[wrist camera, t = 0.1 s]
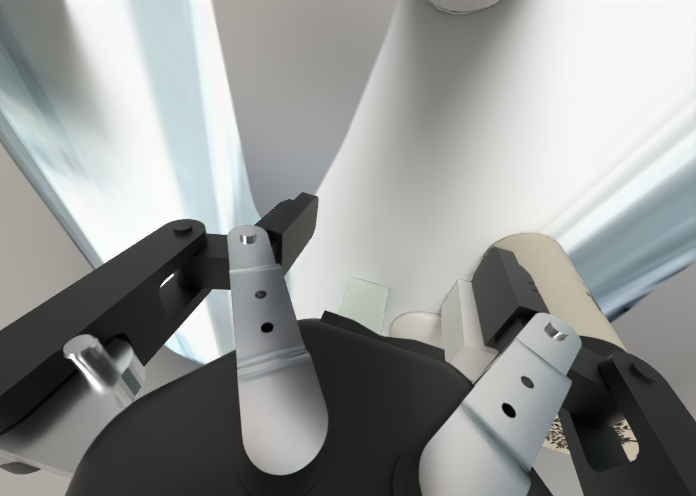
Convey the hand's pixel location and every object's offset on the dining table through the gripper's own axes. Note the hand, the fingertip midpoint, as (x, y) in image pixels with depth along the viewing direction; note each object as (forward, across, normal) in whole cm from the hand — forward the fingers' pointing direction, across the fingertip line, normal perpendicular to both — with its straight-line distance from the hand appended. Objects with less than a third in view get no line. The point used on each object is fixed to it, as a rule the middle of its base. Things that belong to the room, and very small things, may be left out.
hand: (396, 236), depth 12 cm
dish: (+19, -11, +28) cm, 36 cm away
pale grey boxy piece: (+19, 0, +23) cm, 30 cm away
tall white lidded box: (+19, -14, +18) cm, 29 cm away
